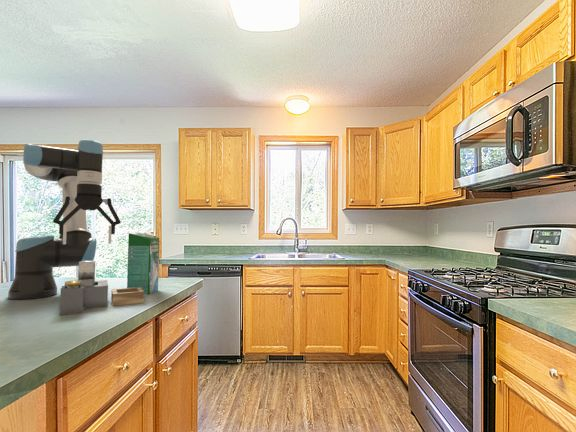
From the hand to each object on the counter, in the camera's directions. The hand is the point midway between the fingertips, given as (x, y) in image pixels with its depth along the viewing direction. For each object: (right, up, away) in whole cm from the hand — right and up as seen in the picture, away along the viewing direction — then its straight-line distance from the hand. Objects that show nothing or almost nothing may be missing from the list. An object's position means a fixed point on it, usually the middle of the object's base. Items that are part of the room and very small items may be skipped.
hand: (87, 243), depth 114 cm
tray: (+12, -22, +4) cm, 25 cm away
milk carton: (+10, -22, +21) cm, 32 cm away
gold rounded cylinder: (+2, -18, -10) cm, 21 cm away
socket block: (+1, -21, -3) cm, 21 cm away
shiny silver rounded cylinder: (0, -18, 0) cm, 18 cm away
